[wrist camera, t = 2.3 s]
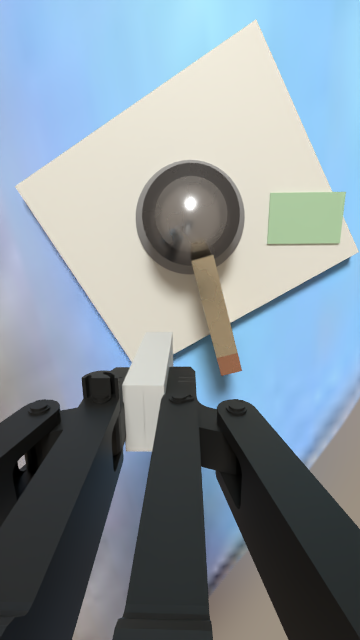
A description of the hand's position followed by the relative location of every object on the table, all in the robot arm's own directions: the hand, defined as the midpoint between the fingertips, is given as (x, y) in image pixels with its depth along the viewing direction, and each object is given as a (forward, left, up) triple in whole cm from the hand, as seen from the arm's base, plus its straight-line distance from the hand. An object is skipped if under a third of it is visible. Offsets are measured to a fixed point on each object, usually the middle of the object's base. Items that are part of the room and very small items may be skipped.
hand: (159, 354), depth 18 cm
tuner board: (+6, +6, -12) cm, 14 cm away
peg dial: (+5, +2, -10) cm, 11 cm away
